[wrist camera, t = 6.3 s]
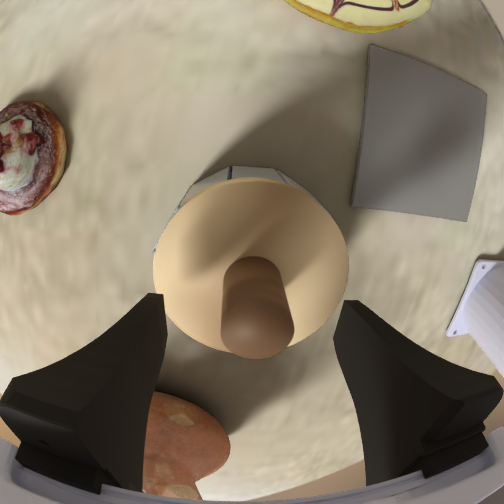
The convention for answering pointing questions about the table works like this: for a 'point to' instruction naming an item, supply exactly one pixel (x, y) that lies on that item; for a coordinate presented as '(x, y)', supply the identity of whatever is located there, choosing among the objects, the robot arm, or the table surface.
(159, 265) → the bamboo lid
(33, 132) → the pastry
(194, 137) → the table surface
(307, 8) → the decorated donut
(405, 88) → the rubber mat
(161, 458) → the ceramic jug
